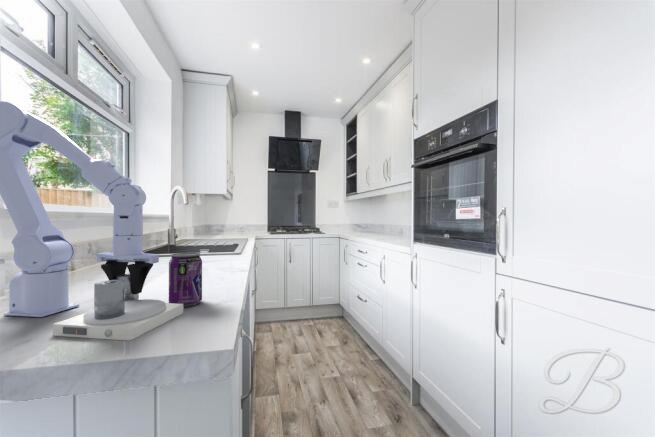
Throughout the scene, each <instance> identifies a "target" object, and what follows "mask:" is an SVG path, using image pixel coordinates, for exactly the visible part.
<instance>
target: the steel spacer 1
mask: <svg viewBox="0 0 655 437" xmlns="http://www.w3.org/2000/svg"><path fill="white" fill-rule="evenodd" d="M93 286H94V289H93V290H94V293H93V297H94V306H93V307H94V308H93V309H94V319H97V320H105V319H112V318H116V317H120V316H122V315H124V314H125V280H109V279H108V280H104V281H98V282H95V283H94V285H93Z"/></svg>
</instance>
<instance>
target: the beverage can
mask: <svg viewBox="0 0 655 437" xmlns="http://www.w3.org/2000/svg"><path fill="white" fill-rule="evenodd" d="M200 255H201V253H200V252H192V251H191V252H178V253H177V252H175V253H171V255H170V257H171V258H170V260H169V262H168V303H175V304H183V308H188V307H192V306H195V305H197V304H198V303H199V302H202V300H203V260H202V258H201V256H200Z"/></svg>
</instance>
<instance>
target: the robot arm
mask: <svg viewBox="0 0 655 437" xmlns="http://www.w3.org/2000/svg"><path fill="white" fill-rule="evenodd" d="M41 144H44V145H46V146H50V147H51V148H53V149H54V150H55V151H57V153H59V154H61V155H62V156H63V157H64V158H66V159H68V160H69V161H70V162H71V163H73V164H74V165H76V166H77V167H79V168H80V171H81V173H80V174H81V177H82V178H83V179H84V180H86V181H87V182H88V183H90V185H92V186H93V187H94V188H96V189H97V191H98V190H99V191H100V192H101V193H102V194H103V195H105V196H106V197H108V200H109V202H110V204H111V205H113V214H112V215H113V217H112V219H113V220H112V222H113V224H112V225H113V226H112V227H113V229H112V252H100V253H96V262H99V263H100V262H101V263H102V262H105V263H103V264H100V268H101V270H102V271H103V272H104V273H105V275H106V277H107V279H108V280H116V276H117V275H121V274H126V272H127V271H128V274H130V277H131V291H132V294H134V295H135V294H138V293H139V294H141V293H142V291H143V288H144V284H145V281H146V279H147V276H148V274H149V273H150V271H151V269H152V268H153V266H154V264H156V263H157V264H158V263H160V255H159V253H157V254H156V253H149V252H148V253H147V252H145V251H144V252H143V242H144V241H143V237H144V236H143V235H144V234H143V231H144V230H143V228H144V221H143V220H144V215H143V210H144V209H143V208H144V207H143V206H144V204H146V201H147V195H146V192H145V191H144V190H143V189H142V187H141V186H140V185H136V184H132V182H133V180H132V178H130V177H125V176H124V175H123V174H122V173H120V172H119V171H118V170H117V169H116V168H115V167H116V165H115V164H114V163H113V162H110V161H105V159H94V158H93V157H92V156H91V155H89V154H88V153H87V152H86V151H85V150H84V149H83V148H81V147H80V146H79V145H78V144H77V143H75V142H74V140H72V139H71V138H70V137H68V136H67V135H66V134H65V133H64V132H63V131H61V130H60V129H58V128H57V127H56V126H54V125H52V124H51V123H49V122H47V120H45V119H44V118H42V117H39V116H37V115H34V114H32V113H30V112H28V111H26V110H24V109H22V108H20V107H19V106H18V105H16V104H14V103H12V102H9V101H4V100H0V196H1V199H2V201H3V203H4V205H5V207H6V209H7V212H8V214H9V216H10V217H11V218H10V219H12V223H13V224H14V227H15V229H16V231H17V232H16V234H15V236H14V237H13V238H12V240H11V243H12V246H13V248H14V251H13V262H14V264H15V266H16V267H17V268H19V269H20V270H21V271H20V272H18V273H16V274H15V275H14V276H13V277H12V279H11V280H10V281H9V286H8V292H9V293H8V311H5V312H4V313H3V315H4V316H14V317H15V316H16V317H34V318H42V317H46V316H49V315H53V314H56V313H60V312H63V311H66V310H70V309H73V308H76V307H79V306H80V303H76V302H75V303H72V302H71V303H70V302H69V300H70V299H69V294H70V293H69V292H70V291H69V289H70V288H69V287H70V285H69V284H70V283H69V278H70V277H69V272H70V271H69V269H70V266H69V262H70V261H72V260H73V259H74V256H75V254H76V249H75V247H74V245H73V243H71V242H70V241H69V240H68V239H67V238H66V237H65V236H64V234H63V232H62V231H61V230H60V229H58V227H56V226H54V224H52V222H51V220H50V219H51V218H50V217H49V215H48V212H47V210H46V208H45V206H44V204H43V202H42V200H41V197H40V195H39V193H38V190H37V188H36V186H35V184H34V182H33V180H32V178H31V175H30V173H29V171H28V169H27V167H26V165H25V162H24V160H23V157H24V156H25V155H26V154H27V153H28V152H30V151H32V150H34V149H35V148H36V147H38V146H40V145H41ZM129 263H130V264H129ZM126 270H127V271H126Z"/></svg>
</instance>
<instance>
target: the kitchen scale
mask: <svg viewBox="0 0 655 437" xmlns="http://www.w3.org/2000/svg"><path fill="white" fill-rule="evenodd" d="M183 314H184V307H183V304H175V303H169V302H165V301H163V300H160V299H143V298H142V299H139V300H131V301H125V314H124V315H122V316H120V317H116V318H112V319H105V320H97V319H94V308H92V309H90V310H88V311H87V312H84V313H81V314H78V315H75V316H72V317H69V318H66V319H64V320H61V321H57V322H54V323H52V336H54V337H55V336H56V337H57V336H58V337H68V338H70V337H71V338H86V339H99V340H111V341H112V340H115V341H132V340H134V339H137V338H138V337H140V336H142V335H144V334H146V333H148V332H150V331H151V330H153V329H155V328H157V327H159V326H161V325H163V324H165V323H168V322H169V321H172V320H173V319H175V318H176V317H179V316H180V315H183Z"/></svg>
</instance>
